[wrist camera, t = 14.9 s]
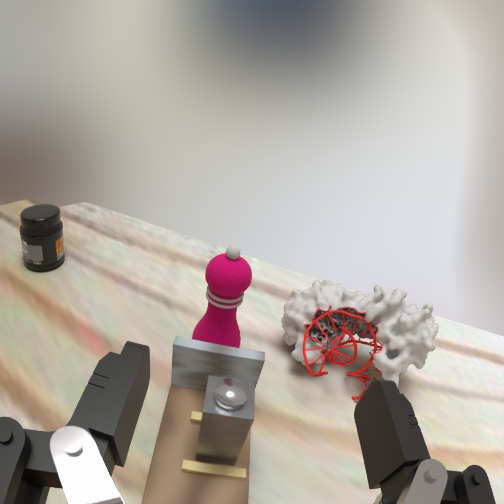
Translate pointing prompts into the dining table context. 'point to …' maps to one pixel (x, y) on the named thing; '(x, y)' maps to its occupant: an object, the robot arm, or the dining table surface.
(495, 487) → the dining table surface
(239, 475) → the wooden base metal fixture
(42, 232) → the supplement container
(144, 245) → the dining table surface
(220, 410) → the metal square bar
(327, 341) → the lumpy white molecule
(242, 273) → the pepper mill
